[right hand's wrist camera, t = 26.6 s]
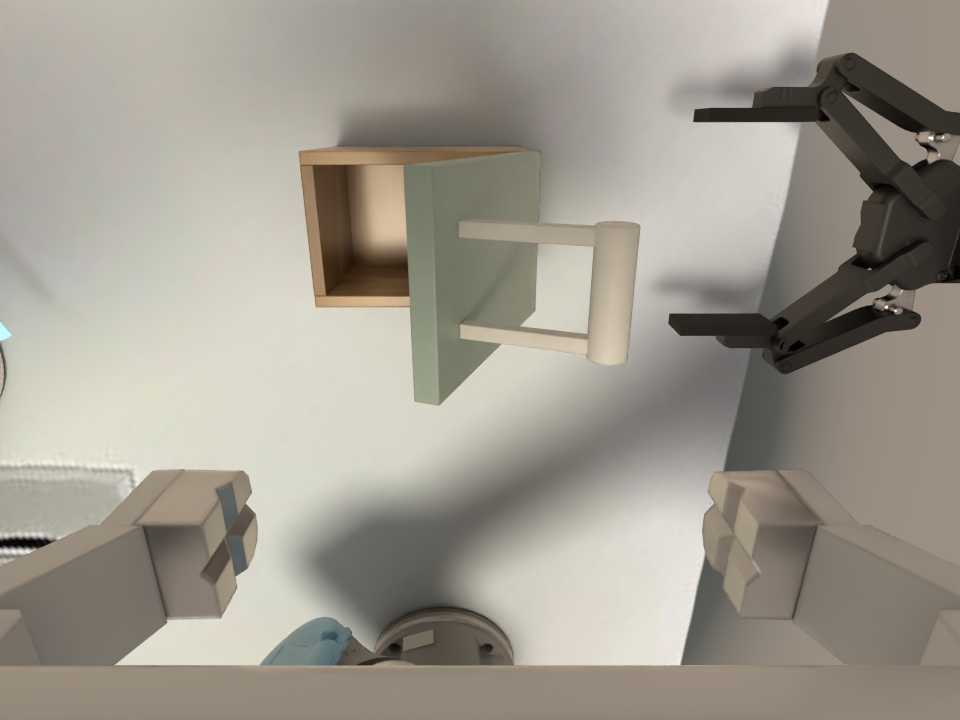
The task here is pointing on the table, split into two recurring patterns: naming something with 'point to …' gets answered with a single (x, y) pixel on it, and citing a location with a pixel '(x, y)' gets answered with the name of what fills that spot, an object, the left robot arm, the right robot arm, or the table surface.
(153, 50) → the table surface
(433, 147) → the chest
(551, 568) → the table surface
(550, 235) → the lid
